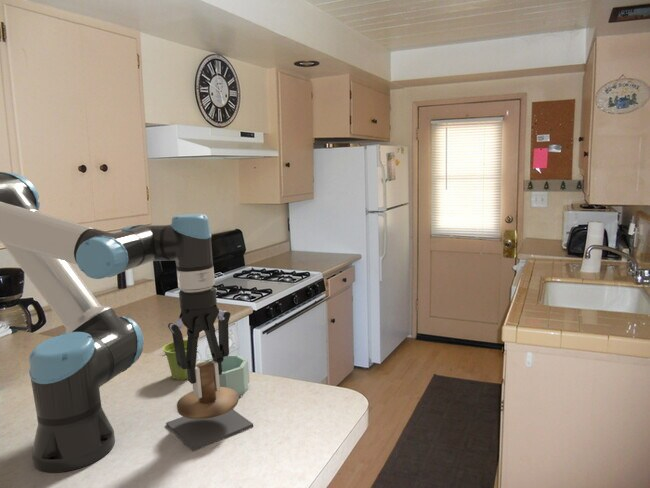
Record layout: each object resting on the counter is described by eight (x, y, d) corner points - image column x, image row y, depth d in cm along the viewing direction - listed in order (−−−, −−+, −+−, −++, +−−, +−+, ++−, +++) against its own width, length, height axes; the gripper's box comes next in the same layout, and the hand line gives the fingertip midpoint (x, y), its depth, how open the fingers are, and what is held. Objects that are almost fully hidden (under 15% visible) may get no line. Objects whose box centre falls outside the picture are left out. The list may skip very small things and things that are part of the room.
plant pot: (196, 382, 135) (193, 351, 133) (160, 383, 135) (157, 352, 133) (205, 368, 144) (202, 338, 142) (172, 369, 144) (169, 340, 143)
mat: (193, 451, 102) (192, 448, 102) (166, 425, 113) (166, 422, 113) (253, 426, 111) (253, 423, 111) (223, 404, 122) (222, 402, 121)
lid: (192, 425, 102) (188, 383, 100) (167, 403, 112) (163, 365, 110) (249, 404, 110) (246, 364, 108) (221, 385, 120) (218, 349, 118)
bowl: (213, 405, 121) (211, 377, 120) (192, 389, 130) (189, 363, 129) (257, 389, 128) (255, 363, 127) (233, 375, 138) (231, 351, 137)
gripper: (165, 299, 99) (177, 411, 103) (240, 283, 109) (249, 386, 113) (151, 292, 105) (163, 399, 108) (224, 278, 115) (232, 376, 119)
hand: (206, 392), depth 111 cm, fingers closed on lid, 4 cm apart
